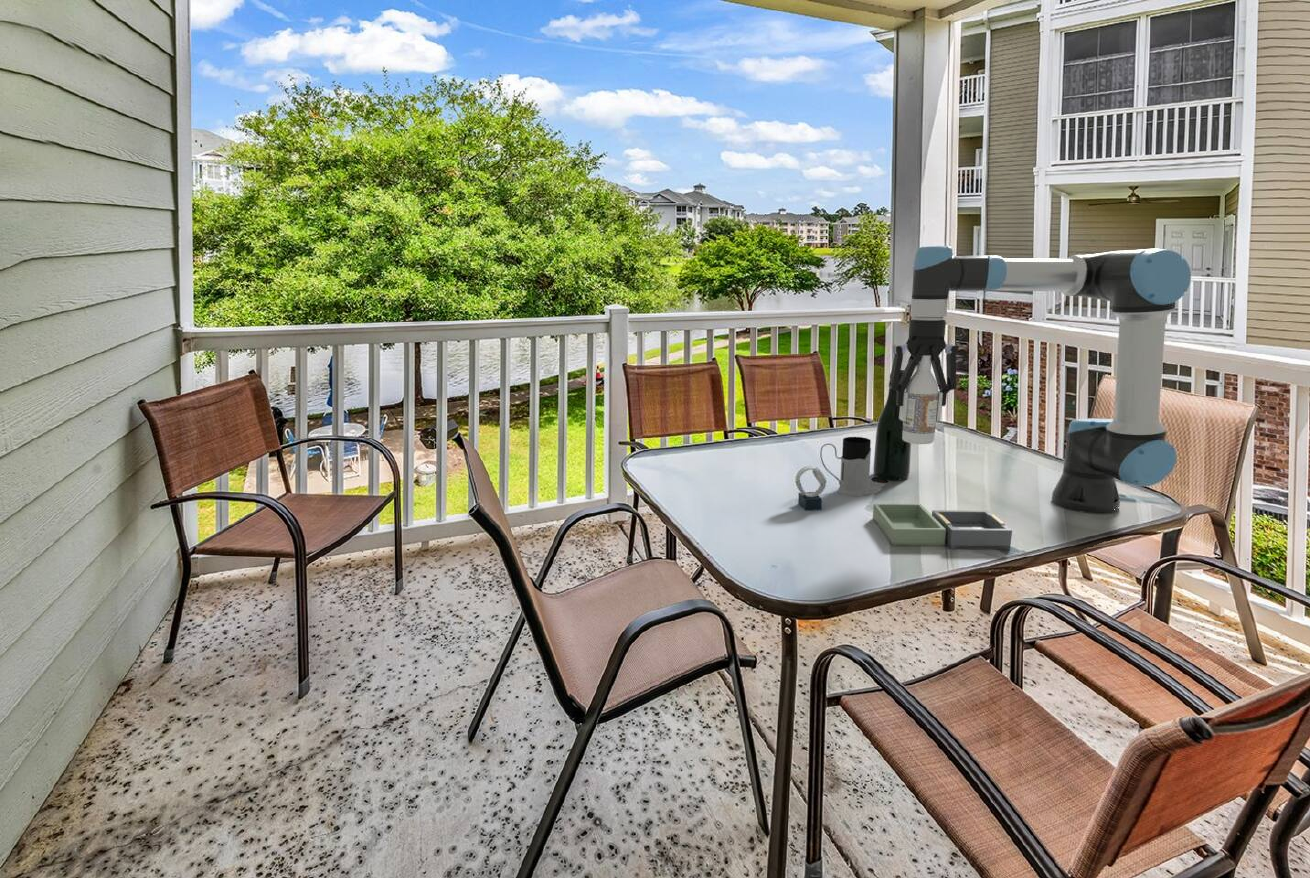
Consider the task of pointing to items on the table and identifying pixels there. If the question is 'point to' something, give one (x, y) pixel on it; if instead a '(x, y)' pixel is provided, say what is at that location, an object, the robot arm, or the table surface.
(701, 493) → the table surface
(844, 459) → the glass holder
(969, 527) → the plate
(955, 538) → the gray square tray
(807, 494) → the watch
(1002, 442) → the table surface
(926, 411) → the bath foam
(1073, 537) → the table surface
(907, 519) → the green tray
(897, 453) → the wine bottle
